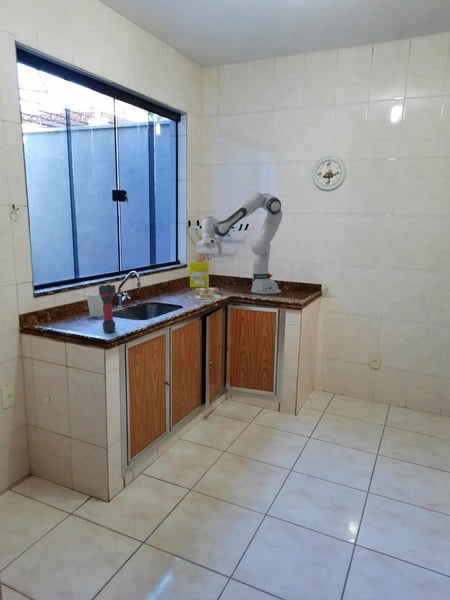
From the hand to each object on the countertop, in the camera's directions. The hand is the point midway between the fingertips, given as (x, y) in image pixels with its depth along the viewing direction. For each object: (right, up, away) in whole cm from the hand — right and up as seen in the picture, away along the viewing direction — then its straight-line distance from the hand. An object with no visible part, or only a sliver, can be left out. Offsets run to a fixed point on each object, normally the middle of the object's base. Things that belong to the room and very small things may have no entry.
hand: (208, 260), depth 291 cm
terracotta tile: (-2, -24, -3) cm, 24 cm away
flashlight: (-45, -44, -91) cm, 111 cm away
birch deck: (-2, -24, +10) cm, 26 cm away
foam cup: (-61, -38, -59) cm, 93 cm away
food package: (-9, -18, +43) cm, 48 cm away
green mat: (0, -26, -1) cm, 26 cm away
